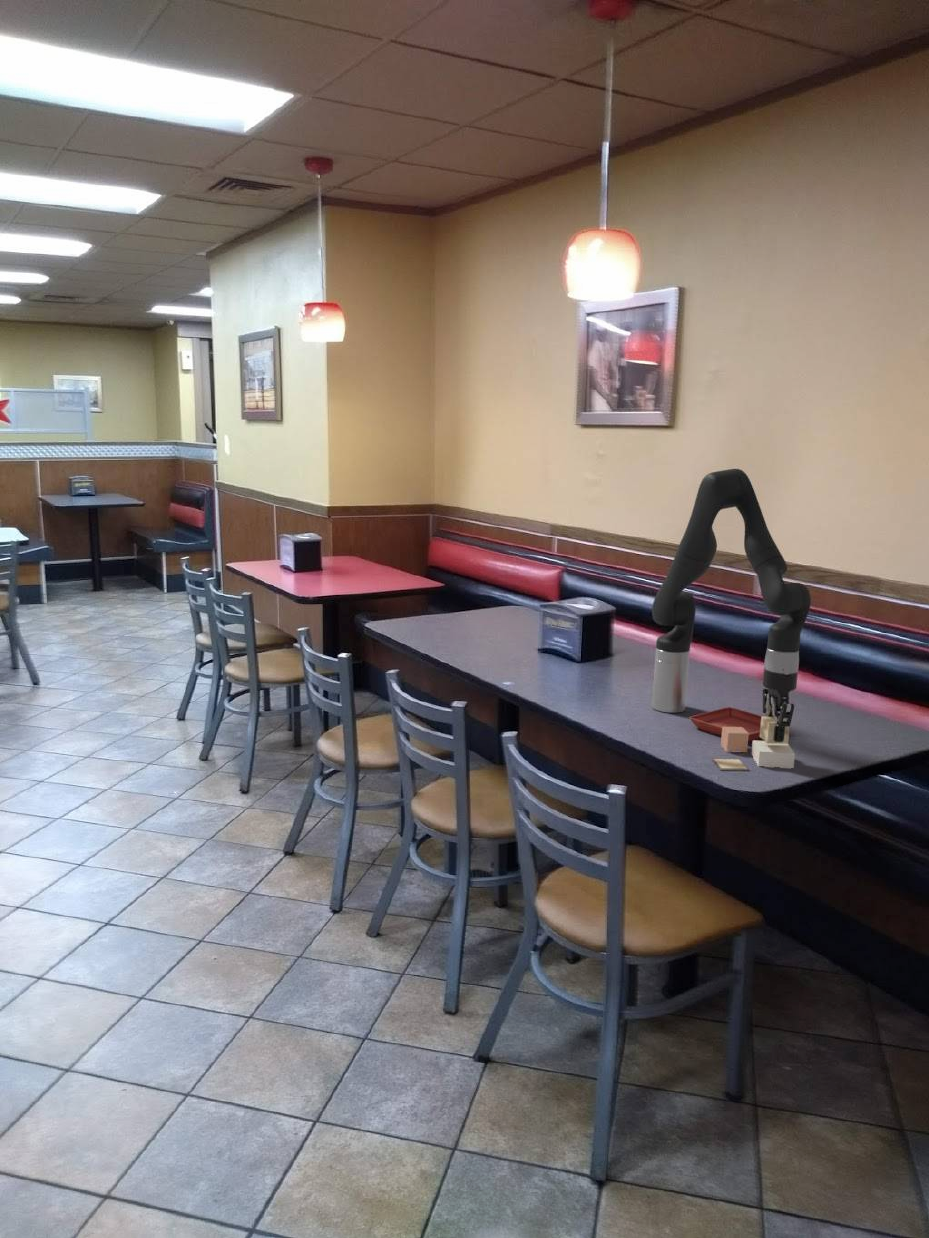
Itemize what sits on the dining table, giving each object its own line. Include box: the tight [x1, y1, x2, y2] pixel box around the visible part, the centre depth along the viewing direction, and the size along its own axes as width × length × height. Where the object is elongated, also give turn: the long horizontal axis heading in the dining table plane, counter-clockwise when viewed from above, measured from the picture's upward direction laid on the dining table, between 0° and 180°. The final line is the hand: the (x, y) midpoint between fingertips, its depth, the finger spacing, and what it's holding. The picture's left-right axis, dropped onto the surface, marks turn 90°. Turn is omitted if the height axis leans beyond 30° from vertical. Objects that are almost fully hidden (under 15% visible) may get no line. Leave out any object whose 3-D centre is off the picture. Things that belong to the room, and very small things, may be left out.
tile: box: [711, 758, 750, 772], centre depth 216 cm, size 7×7×1 cm
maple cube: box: [760, 715, 791, 745], centre depth 218 cm, size 5×5×5 cm
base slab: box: [751, 739, 796, 769], centre depth 219 cm, size 8×8×4 cm
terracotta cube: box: [720, 727, 749, 753], centre depth 227 cm, size 5×5×5 cm
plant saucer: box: [689, 706, 762, 742], centre depth 242 cm, size 18×18×3 cm
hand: (774, 737), depth 219 cm, fingers closed on maple cube, 4 cm apart
